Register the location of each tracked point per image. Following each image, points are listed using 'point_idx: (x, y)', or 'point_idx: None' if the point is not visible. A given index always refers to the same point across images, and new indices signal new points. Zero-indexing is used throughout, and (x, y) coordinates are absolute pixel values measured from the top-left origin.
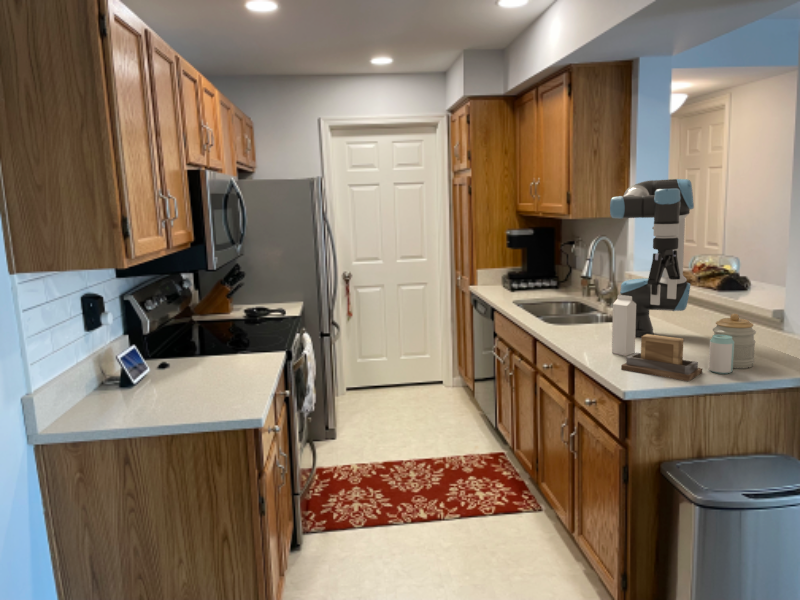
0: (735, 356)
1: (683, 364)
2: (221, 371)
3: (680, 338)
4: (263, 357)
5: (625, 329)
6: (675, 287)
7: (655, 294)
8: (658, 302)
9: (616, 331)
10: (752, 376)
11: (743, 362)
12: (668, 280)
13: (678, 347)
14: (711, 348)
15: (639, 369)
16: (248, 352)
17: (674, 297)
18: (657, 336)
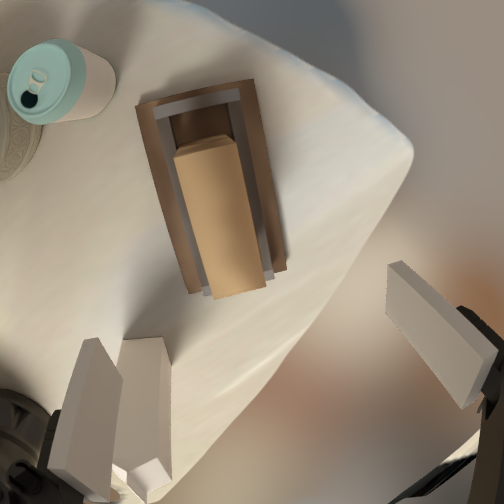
0: None
1: (176, 144)
2: None
3: (179, 169)
4: (461, 450)
5: (160, 393)
6: (78, 409)
7: (464, 309)
8: (412, 271)
9: (167, 404)
10: (70, 16)
11: None
12: (106, 492)
13: (228, 141)
14: (90, 94)
15: (278, 220)
16: (452, 461)
17: (97, 350)
18: (220, 251)
